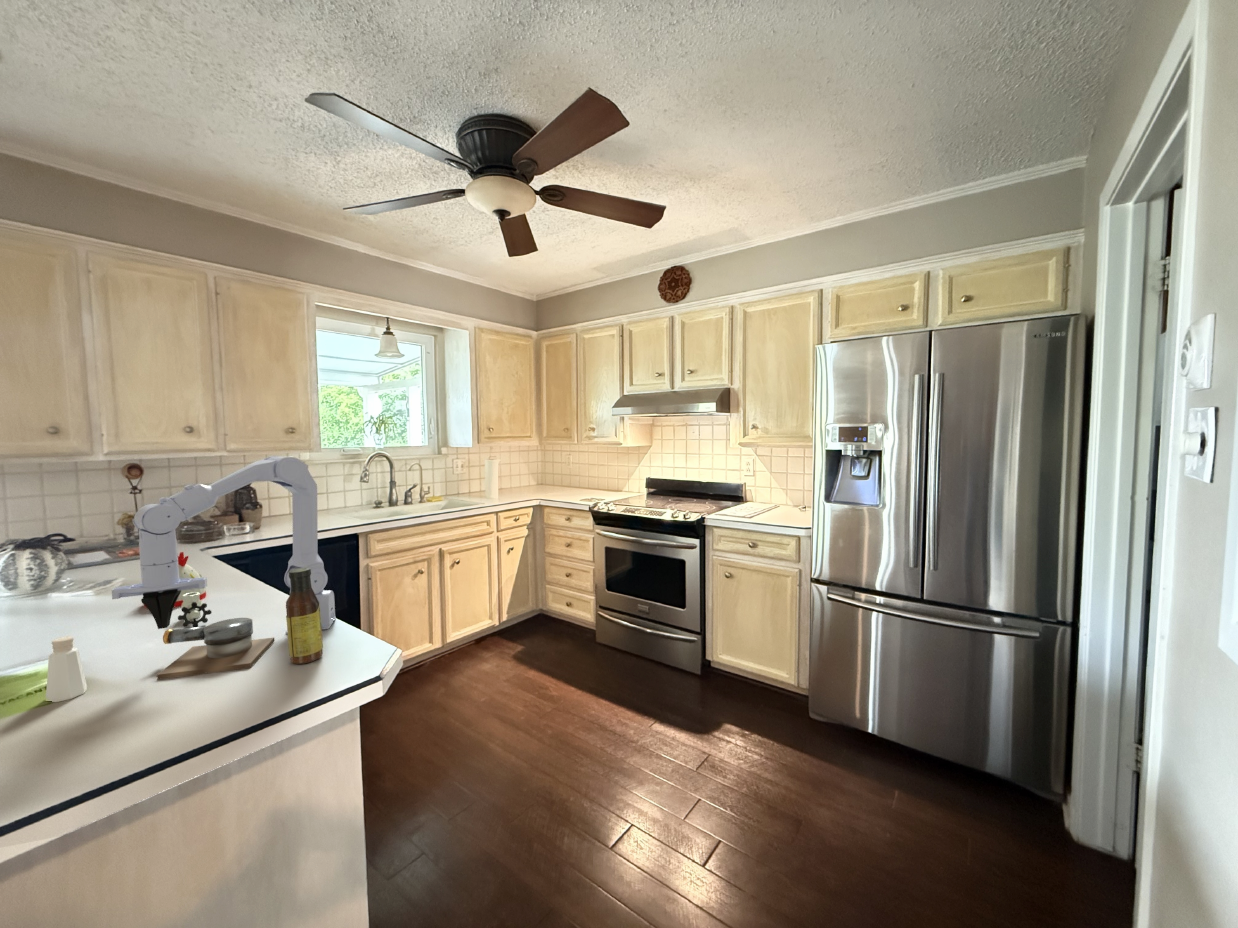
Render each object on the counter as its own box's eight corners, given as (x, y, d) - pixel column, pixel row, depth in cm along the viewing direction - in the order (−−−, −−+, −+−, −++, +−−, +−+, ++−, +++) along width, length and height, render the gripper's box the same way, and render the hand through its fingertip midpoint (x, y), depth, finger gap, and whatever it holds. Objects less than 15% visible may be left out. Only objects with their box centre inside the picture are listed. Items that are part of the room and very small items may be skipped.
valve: (175, 619, 134) (178, 631, 126) (174, 595, 134) (177, 605, 125) (207, 612, 139) (212, 624, 130) (205, 589, 138) (210, 599, 130)
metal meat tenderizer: (259, 628, 117) (259, 615, 117) (242, 642, 108) (241, 629, 108) (179, 635, 113) (178, 622, 113) (154, 651, 104) (154, 637, 104)
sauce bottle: (329, 654, 111) (325, 566, 110) (304, 667, 105) (299, 574, 104) (308, 650, 113) (303, 564, 112) (281, 662, 107) (276, 572, 106)
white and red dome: (177, 609, 142) (174, 557, 141) (130, 609, 142) (126, 557, 141) (217, 593, 156) (215, 546, 155) (174, 593, 156) (171, 546, 155)
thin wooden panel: (274, 641, 119) (273, 626, 118) (250, 667, 105) (249, 650, 105) (193, 650, 114) (192, 634, 114) (157, 679, 101) (156, 661, 100)
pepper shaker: (49, 705, 91) (44, 646, 90) (42, 697, 94) (37, 640, 93) (91, 692, 96) (87, 636, 95) (83, 685, 99) (79, 630, 98)
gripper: (209, 553, 110) (212, 614, 111) (120, 562, 103) (125, 626, 104) (200, 561, 104) (204, 625, 104) (105, 570, 97) (110, 638, 98)
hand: (163, 626), depth 104 cm, fingers closed
